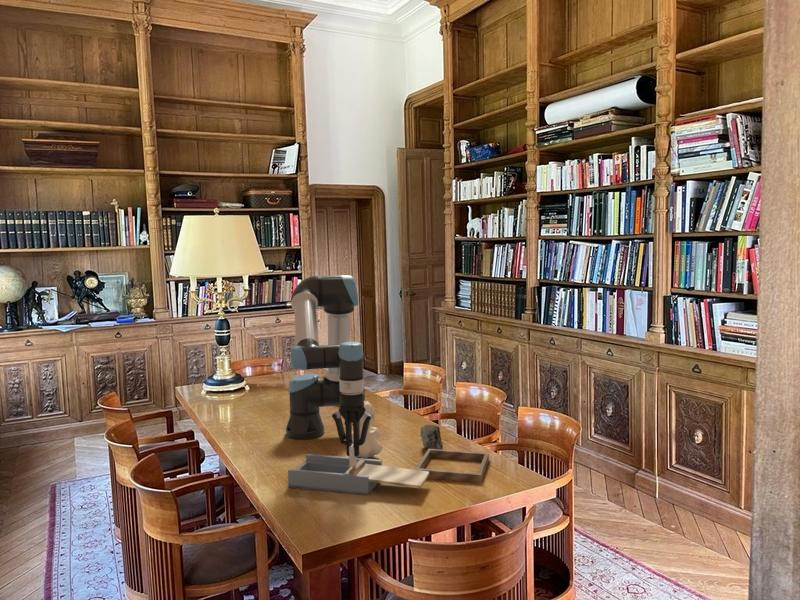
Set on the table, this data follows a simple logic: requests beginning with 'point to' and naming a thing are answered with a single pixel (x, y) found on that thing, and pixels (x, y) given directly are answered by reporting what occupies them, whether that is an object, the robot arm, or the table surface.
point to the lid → (390, 474)
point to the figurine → (369, 435)
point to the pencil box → (330, 475)
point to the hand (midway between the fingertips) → (353, 465)
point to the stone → (431, 437)
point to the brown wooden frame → (453, 474)
